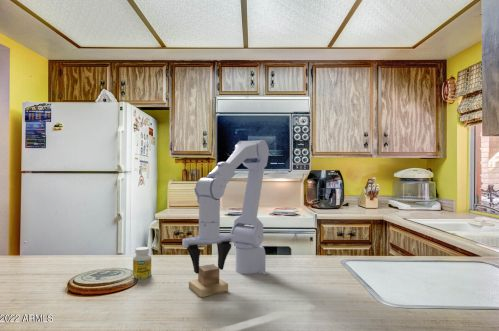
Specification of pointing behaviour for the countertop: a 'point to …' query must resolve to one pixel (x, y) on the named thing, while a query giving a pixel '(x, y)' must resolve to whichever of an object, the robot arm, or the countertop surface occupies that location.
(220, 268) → the robot arm
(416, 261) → the countertop surface
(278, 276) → the countertop surface
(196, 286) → the tile top
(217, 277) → the block
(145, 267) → the supplement bottle
